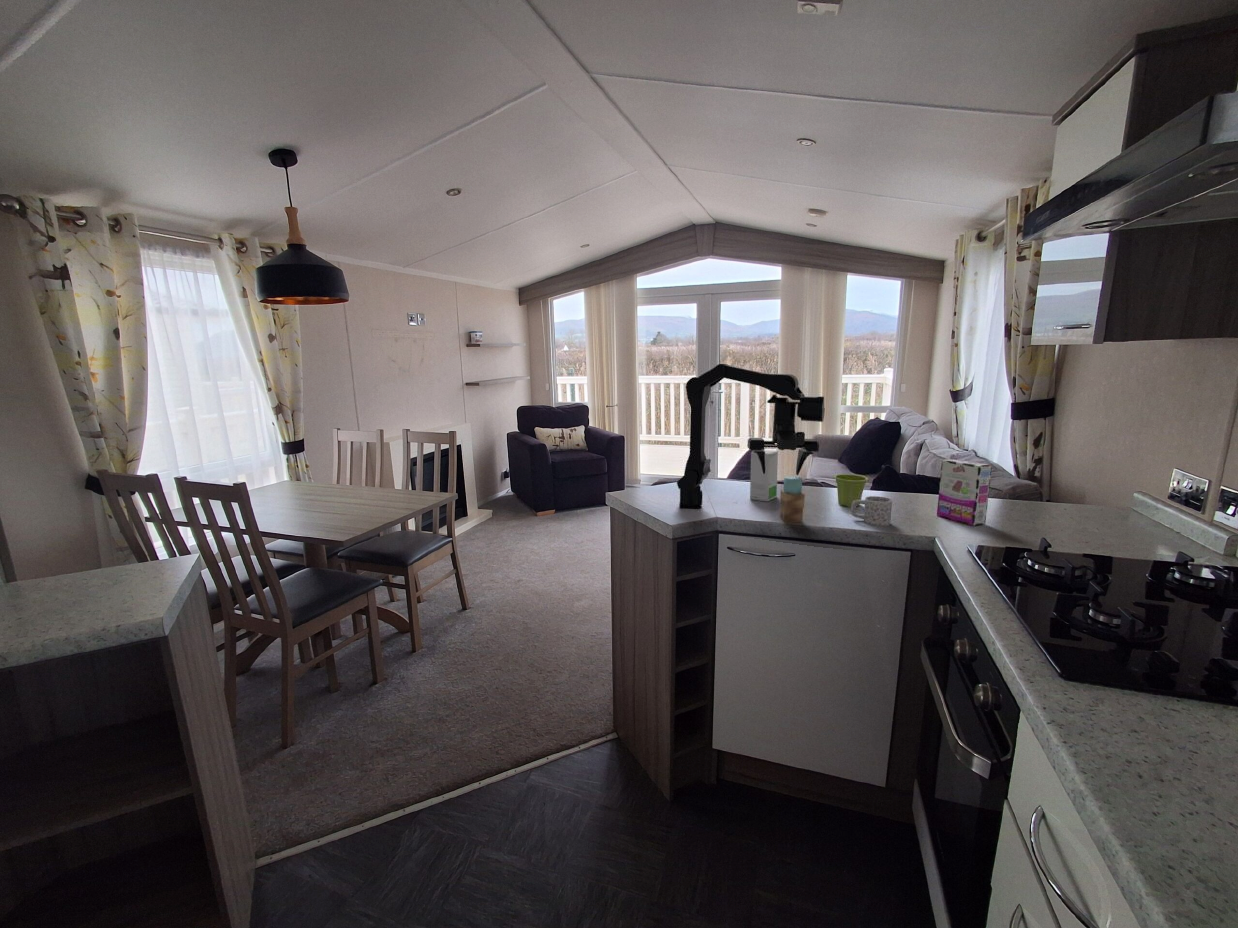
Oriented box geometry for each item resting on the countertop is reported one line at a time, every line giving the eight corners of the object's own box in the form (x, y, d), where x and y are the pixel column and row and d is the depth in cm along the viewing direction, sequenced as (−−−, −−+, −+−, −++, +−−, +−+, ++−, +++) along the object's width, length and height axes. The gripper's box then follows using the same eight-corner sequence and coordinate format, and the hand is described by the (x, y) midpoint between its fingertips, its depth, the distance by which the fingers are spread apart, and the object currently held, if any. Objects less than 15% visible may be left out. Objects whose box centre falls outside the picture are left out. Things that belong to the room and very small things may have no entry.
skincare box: (767, 502, 168) (769, 453, 165) (748, 499, 172) (749, 452, 169) (777, 496, 175) (779, 450, 172) (758, 494, 179) (759, 448, 176)
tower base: (783, 522, 148) (784, 508, 147) (780, 516, 152) (781, 503, 152) (802, 522, 147) (802, 508, 146) (798, 517, 152) (799, 503, 151)
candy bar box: (986, 524, 142) (993, 464, 139) (973, 526, 141) (980, 466, 138) (948, 513, 153) (953, 457, 150) (935, 515, 151) (941, 459, 148)
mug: (891, 521, 147) (893, 497, 146) (889, 527, 141) (891, 503, 140) (852, 516, 152) (853, 493, 151) (848, 522, 146) (850, 499, 145)
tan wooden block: (786, 508, 146) (786, 494, 146) (780, 503, 151) (780, 490, 151) (803, 508, 147) (804, 494, 146) (797, 503, 151) (798, 489, 151)
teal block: (785, 494, 146) (785, 480, 145) (781, 490, 151) (782, 476, 150) (803, 494, 146) (804, 480, 145) (799, 490, 150) (800, 476, 149)
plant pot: (859, 500, 168) (861, 474, 167) (870, 508, 159) (872, 480, 157) (829, 500, 169) (830, 474, 167) (838, 508, 160) (839, 480, 158)
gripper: (753, 422, 141) (750, 479, 144) (826, 424, 139) (821, 481, 142) (748, 418, 152) (745, 471, 155) (815, 419, 150) (811, 473, 153)
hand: (780, 474), depth 151 cm, fingers open, 9 cm apart
